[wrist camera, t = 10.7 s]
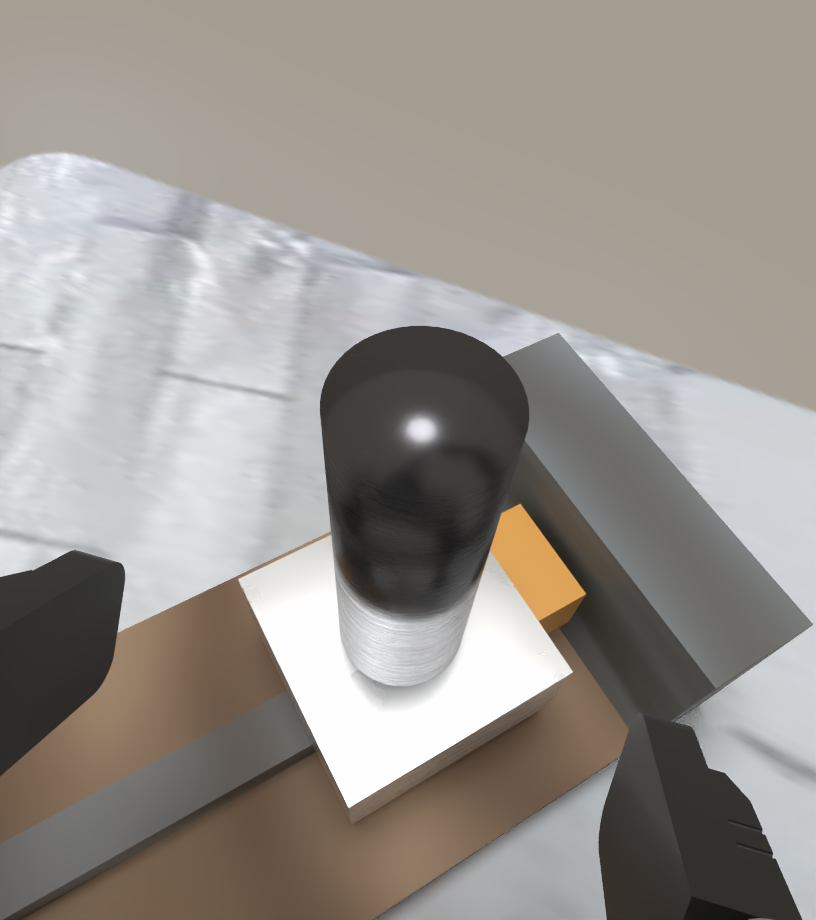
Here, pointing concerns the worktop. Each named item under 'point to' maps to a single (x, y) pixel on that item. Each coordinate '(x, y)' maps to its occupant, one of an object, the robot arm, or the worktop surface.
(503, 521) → the orange block
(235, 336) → the worktop surface
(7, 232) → the worktop surface
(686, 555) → the rail base
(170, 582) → the worktop surface
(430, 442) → the carriage
